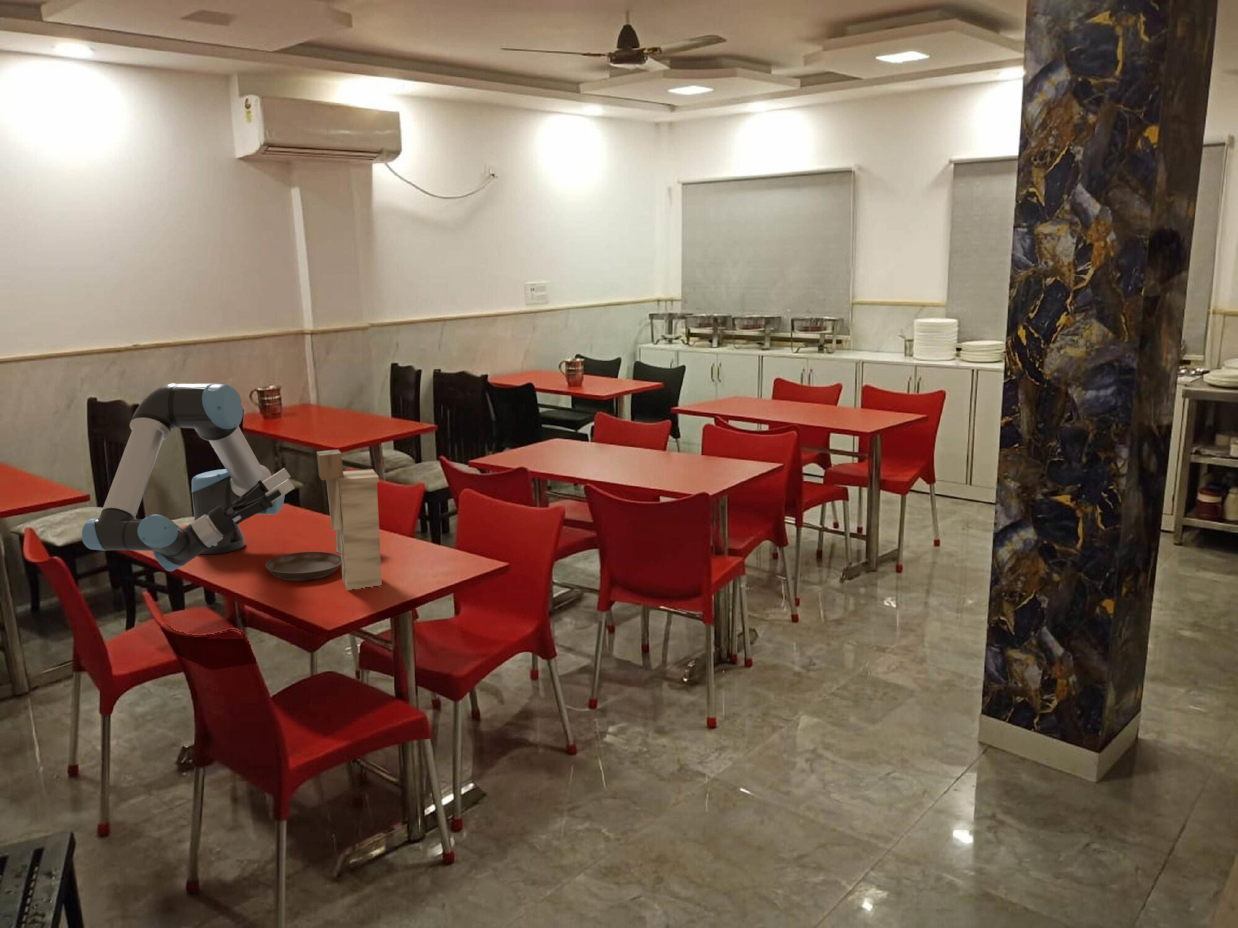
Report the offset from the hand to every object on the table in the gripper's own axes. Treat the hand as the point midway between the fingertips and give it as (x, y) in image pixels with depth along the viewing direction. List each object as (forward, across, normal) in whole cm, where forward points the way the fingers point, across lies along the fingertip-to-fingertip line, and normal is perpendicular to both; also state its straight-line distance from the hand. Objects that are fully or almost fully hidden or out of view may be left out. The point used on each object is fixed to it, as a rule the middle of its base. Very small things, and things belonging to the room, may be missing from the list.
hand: (289, 477), depth 252 cm
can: (0, -33, -36) cm, 49 cm away
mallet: (+9, 0, -10) cm, 14 cm away
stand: (-1, -1, -35) cm, 35 cm away
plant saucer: (-13, -17, -29) cm, 35 cm away
